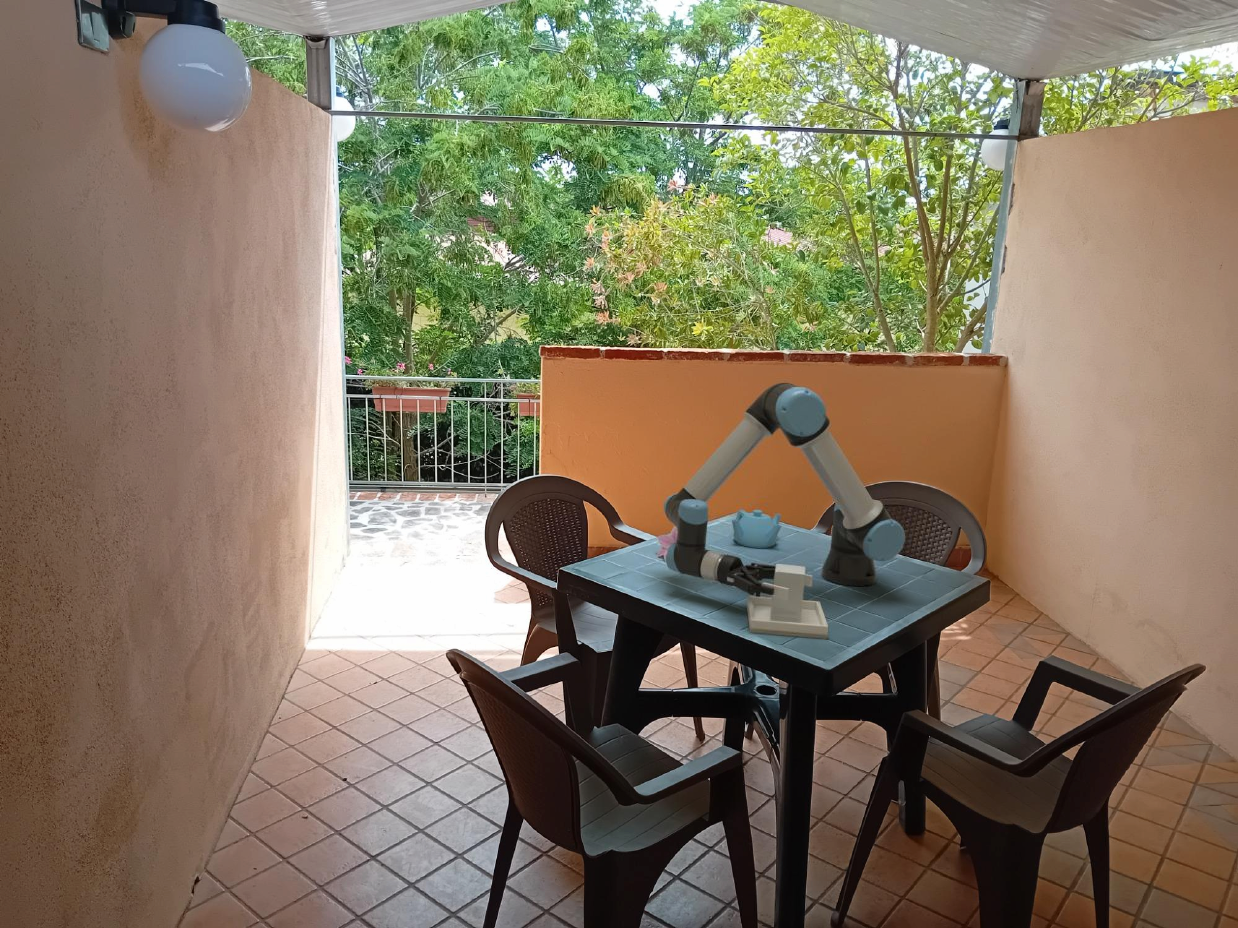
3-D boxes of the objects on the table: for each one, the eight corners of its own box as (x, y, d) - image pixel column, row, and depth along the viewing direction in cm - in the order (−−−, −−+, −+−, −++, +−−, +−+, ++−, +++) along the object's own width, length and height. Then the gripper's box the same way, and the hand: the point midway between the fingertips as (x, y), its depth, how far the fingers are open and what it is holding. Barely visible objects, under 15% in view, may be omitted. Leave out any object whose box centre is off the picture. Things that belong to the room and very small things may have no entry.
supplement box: (800, 625, 226) (805, 574, 223) (769, 621, 227) (773, 571, 225) (801, 614, 233) (806, 566, 230) (771, 611, 234) (775, 562, 232)
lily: (657, 554, 285) (647, 529, 281) (693, 541, 285) (684, 516, 280) (662, 577, 275) (652, 552, 270) (700, 564, 274) (691, 539, 269)
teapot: (780, 539, 306) (783, 507, 304) (778, 552, 291) (781, 518, 289) (733, 534, 309) (736, 503, 307) (729, 546, 294) (732, 513, 292)
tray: (818, 612, 238) (819, 601, 237) (826, 638, 220) (828, 626, 220) (746, 606, 239) (747, 595, 239) (749, 632, 222) (750, 620, 221)
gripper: (744, 572, 249) (819, 590, 237) (696, 594, 229) (775, 615, 217) (746, 544, 248) (822, 561, 236) (698, 564, 227) (778, 584, 216)
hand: (800, 587), depth 226 cm, fingers open, 13 cm apart
